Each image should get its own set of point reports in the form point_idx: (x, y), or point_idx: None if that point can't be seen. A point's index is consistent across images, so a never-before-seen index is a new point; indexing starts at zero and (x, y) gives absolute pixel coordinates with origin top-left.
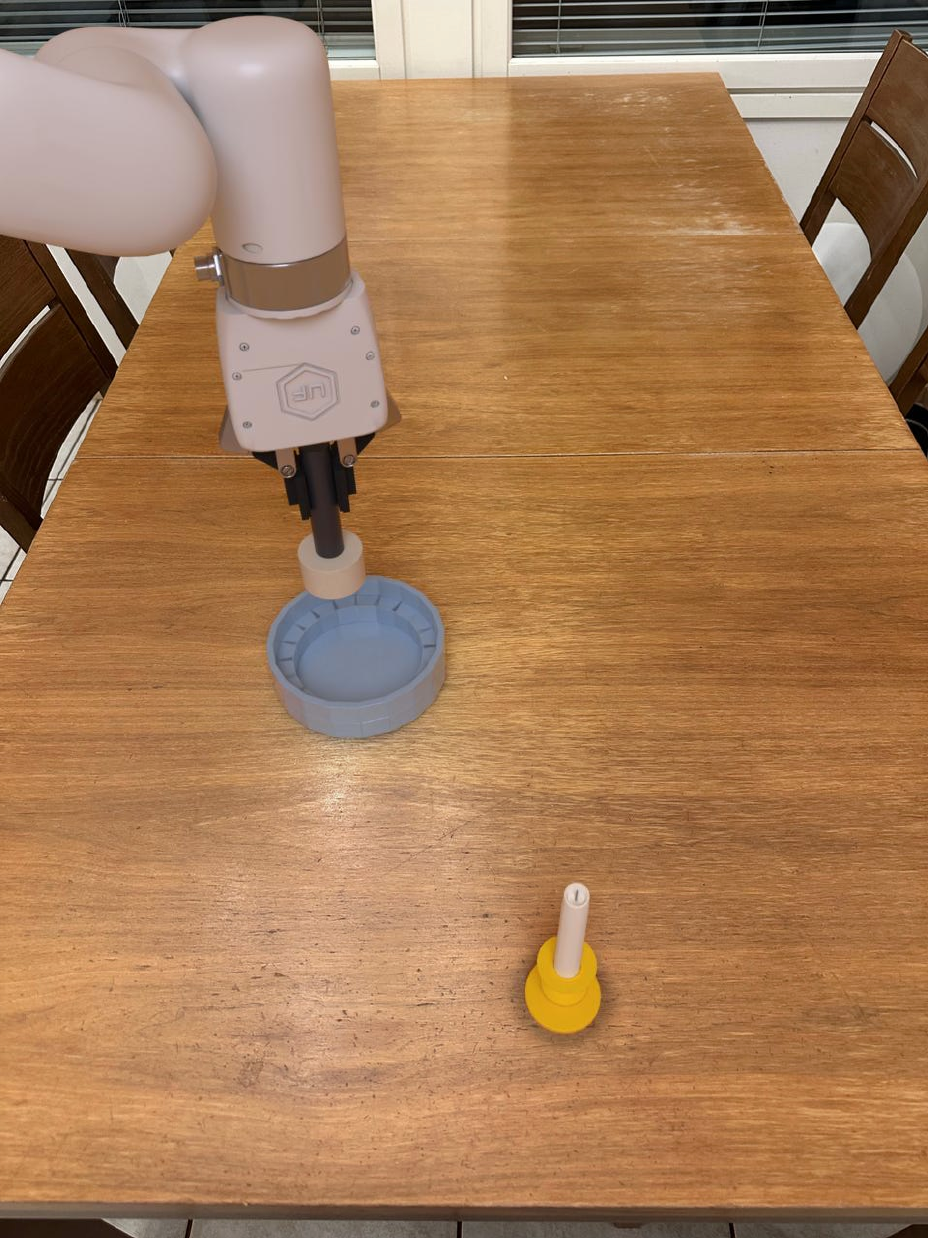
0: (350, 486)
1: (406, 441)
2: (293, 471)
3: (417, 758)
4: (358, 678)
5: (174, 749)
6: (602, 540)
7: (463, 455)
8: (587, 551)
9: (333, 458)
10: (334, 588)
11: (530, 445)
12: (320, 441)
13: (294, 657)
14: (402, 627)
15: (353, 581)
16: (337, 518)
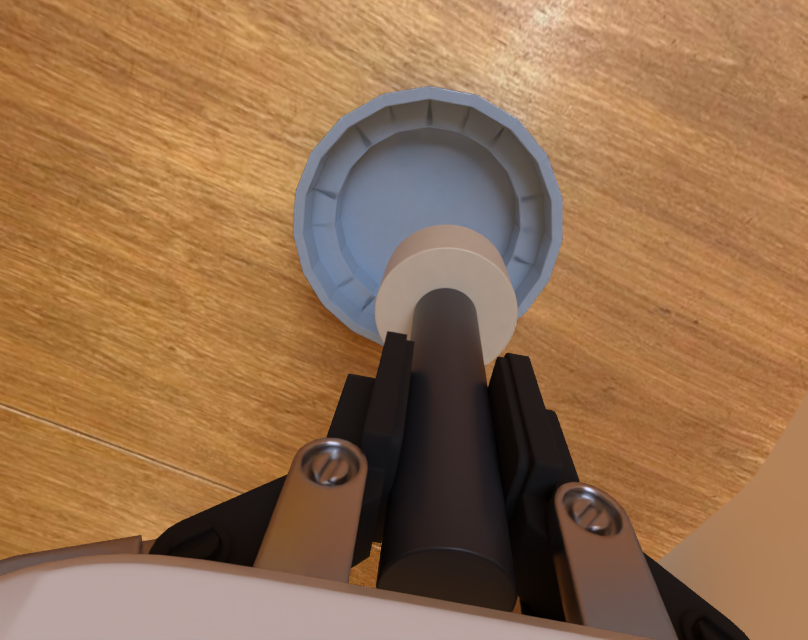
0: (359, 392)
1: None
2: (561, 500)
3: (412, 31)
4: (436, 203)
5: (696, 206)
6: (54, 288)
7: (193, 477)
8: (78, 279)
9: (380, 501)
10: (467, 235)
11: (110, 460)
12: (478, 624)
13: (507, 261)
14: (350, 256)
15: (423, 236)
16: (420, 343)
